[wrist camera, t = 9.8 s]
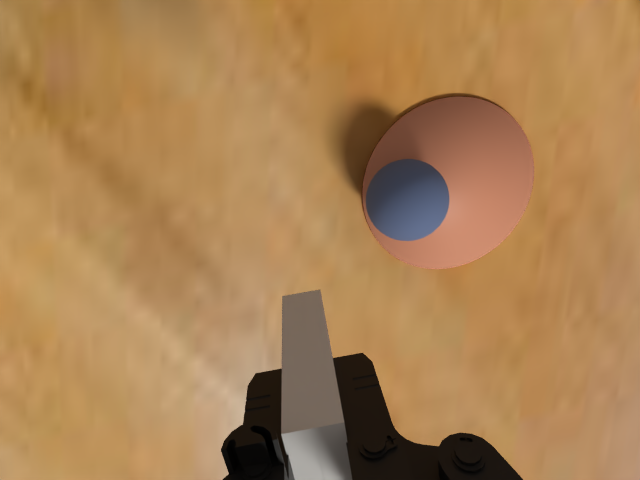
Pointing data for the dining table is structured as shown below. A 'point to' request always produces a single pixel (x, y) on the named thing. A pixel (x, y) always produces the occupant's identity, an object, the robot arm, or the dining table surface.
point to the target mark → (460, 177)
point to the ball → (407, 199)
